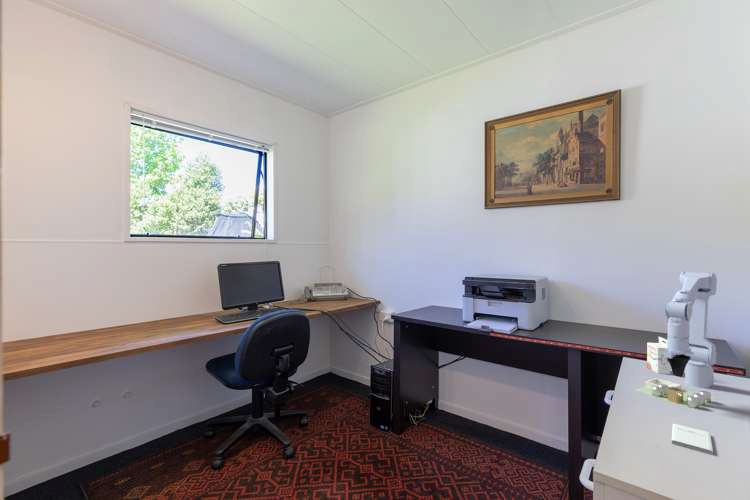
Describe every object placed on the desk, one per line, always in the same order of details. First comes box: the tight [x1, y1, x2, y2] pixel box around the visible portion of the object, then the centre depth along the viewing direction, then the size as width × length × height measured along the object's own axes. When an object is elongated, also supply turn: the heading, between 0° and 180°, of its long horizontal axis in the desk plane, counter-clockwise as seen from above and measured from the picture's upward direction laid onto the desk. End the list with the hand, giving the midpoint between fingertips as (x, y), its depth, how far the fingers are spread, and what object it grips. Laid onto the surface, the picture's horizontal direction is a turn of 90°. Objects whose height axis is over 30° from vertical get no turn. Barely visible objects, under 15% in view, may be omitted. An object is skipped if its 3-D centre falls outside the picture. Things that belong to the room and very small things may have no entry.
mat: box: [634, 385, 719, 411], centre depth 126 cm, size 17×18×1 cm
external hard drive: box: [671, 423, 714, 456], centre depth 98 cm, size 2×8×12 cm
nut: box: [667, 387, 684, 404], centre depth 121 cm, size 4×5×4 cm
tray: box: [644, 377, 682, 389], centre depth 132 cm, size 8×8×2 cm
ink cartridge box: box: [646, 336, 671, 375], centre depth 151 cm, size 9×5×15 cm, turn 168°
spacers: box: [652, 384, 712, 410], centre depth 123 cm, size 12×13×3 cm
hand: (677, 375), depth 122 cm, fingers closed
